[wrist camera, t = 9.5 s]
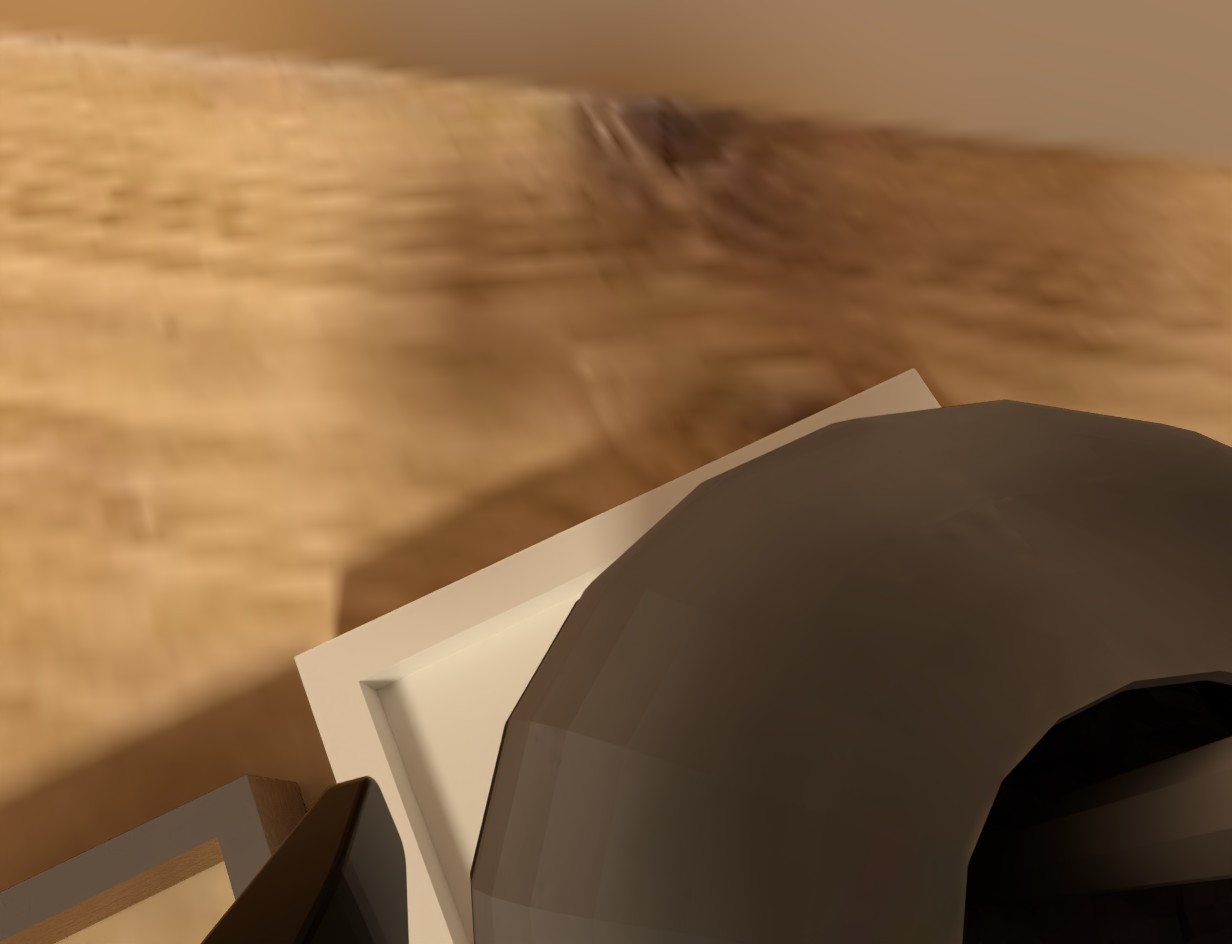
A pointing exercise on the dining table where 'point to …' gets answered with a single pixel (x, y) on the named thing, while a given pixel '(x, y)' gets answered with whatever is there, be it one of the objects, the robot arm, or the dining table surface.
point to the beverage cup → (891, 701)
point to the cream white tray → (487, 673)
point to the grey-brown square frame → (155, 859)
